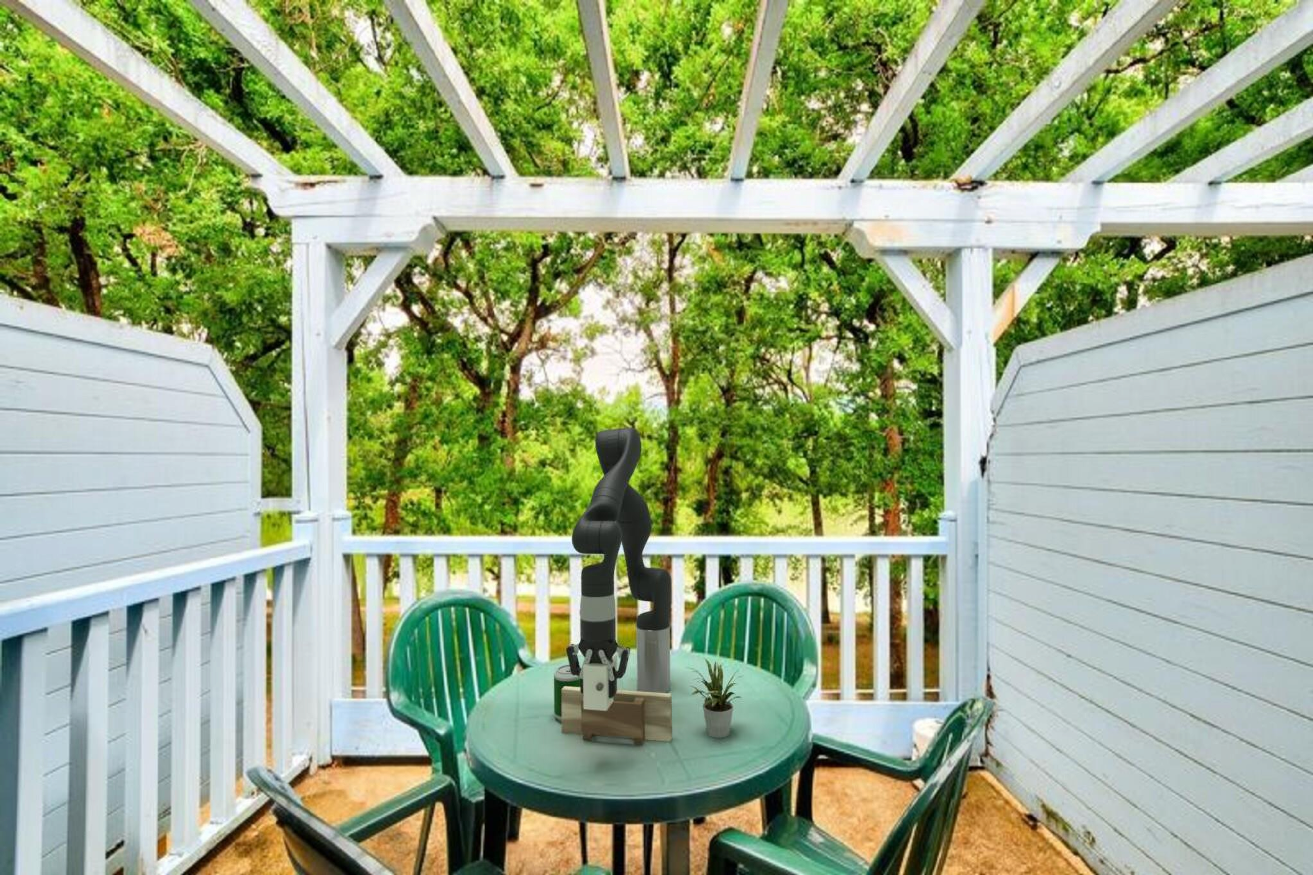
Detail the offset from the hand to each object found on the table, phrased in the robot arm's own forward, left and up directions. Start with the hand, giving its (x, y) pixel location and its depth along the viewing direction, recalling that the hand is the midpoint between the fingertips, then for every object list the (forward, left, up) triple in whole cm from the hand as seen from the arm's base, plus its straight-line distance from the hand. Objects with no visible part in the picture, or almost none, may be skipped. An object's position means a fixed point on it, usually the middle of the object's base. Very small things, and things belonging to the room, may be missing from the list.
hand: (598, 695), depth 126 cm
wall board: (-11, 0, -14) cm, 18 cm away
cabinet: (-1, 0, -2) cm, 2 cm away
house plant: (-19, +22, -14) cm, 33 cm away
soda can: (-20, -14, -14) cm, 28 cm away
